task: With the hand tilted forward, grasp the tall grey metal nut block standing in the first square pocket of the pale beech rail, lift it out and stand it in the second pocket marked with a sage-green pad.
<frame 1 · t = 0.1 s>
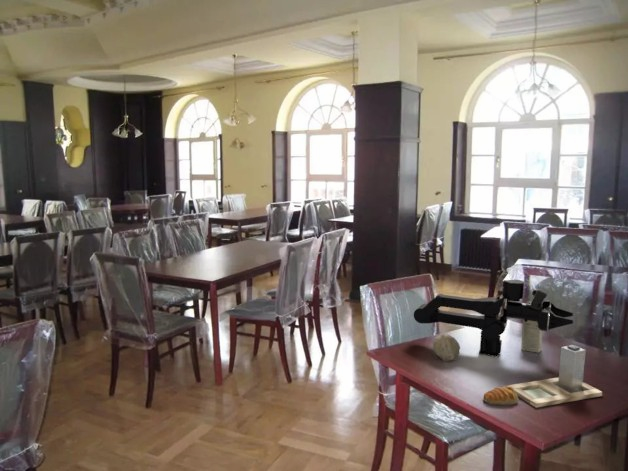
hand: (572, 318, 170), 17 cm above the table, tool horizontal, fingers open, 9 cm apart
pastry: (501, 401, 147), on the table
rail: (553, 392, 153), on the table
skincare box: (530, 350, 187), on the table
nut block: (569, 389, 154), resting in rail
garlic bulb: (444, 358, 178), on the table
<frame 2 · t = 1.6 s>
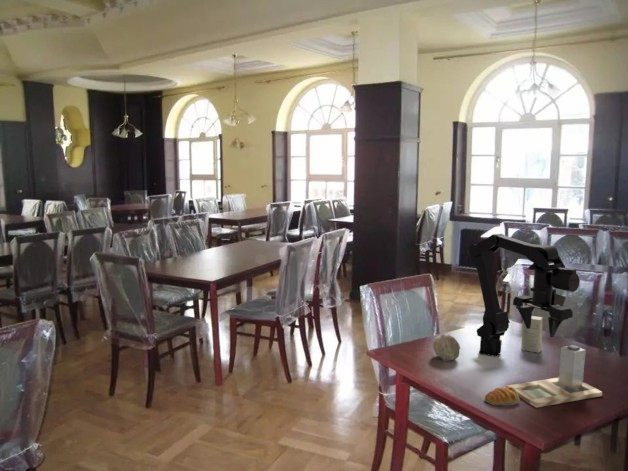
hand: (539, 332, 166), 13 cm above the table, tool pointing down, fingers open, 9 cm apart
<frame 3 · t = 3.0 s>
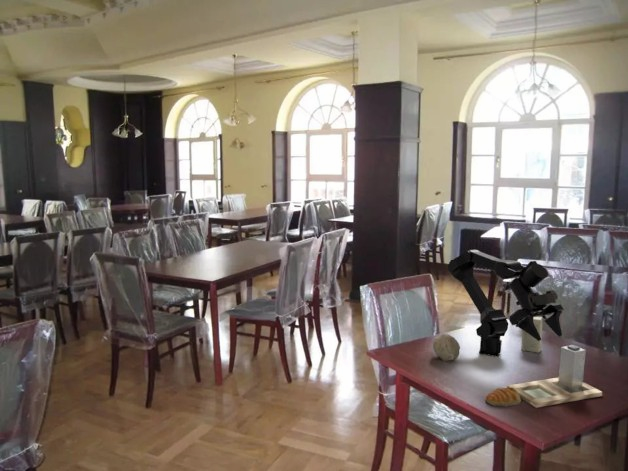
hand: (550, 338, 160), 13 cm above the table, tool tilted 45°, fingers open, 9 cm apart
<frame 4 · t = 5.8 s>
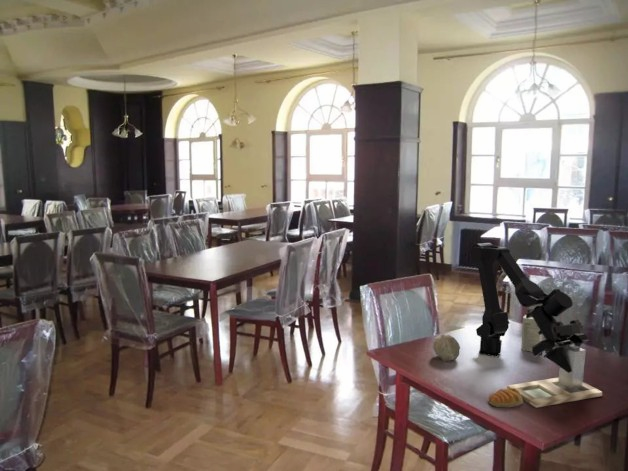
hand: (575, 370, 152), 7 cm above the table, tool tilted 45°, fingers closed on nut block, 5 cm apart
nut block: (569, 389, 154), resting in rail, touching gripper
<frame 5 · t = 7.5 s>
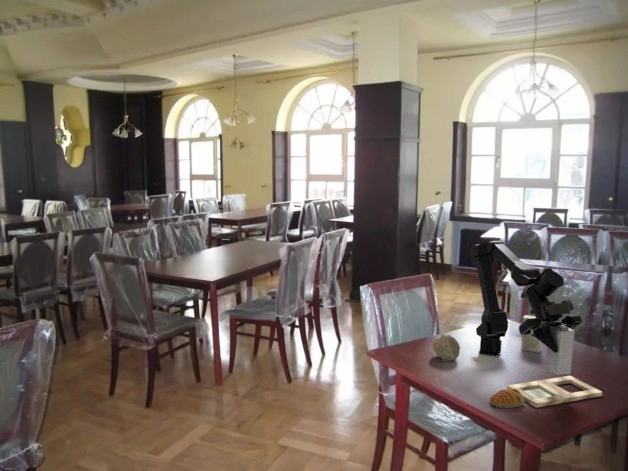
hand: (563, 351, 149), 13 cm above the table, tool tilted 45°, fingers closed on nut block, 5 cm apart
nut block: (558, 371, 151), point 7 cm above the table, touching gripper
when the fingers open (8 cm above the table, at t = 9.4 s): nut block stays where it is, resting on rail.
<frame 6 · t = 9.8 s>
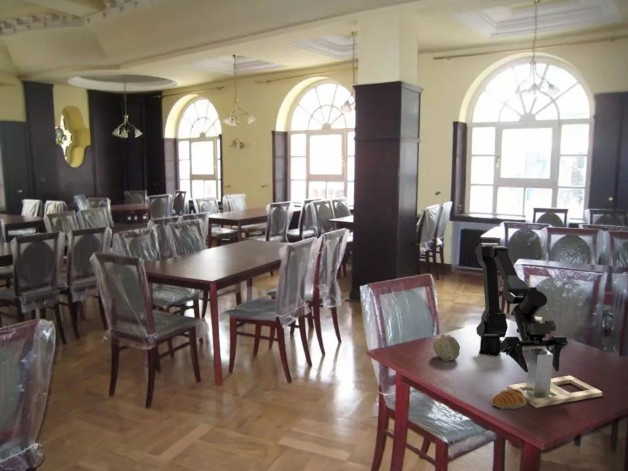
hand: (542, 371, 148), 8 cm above the table, tool tilted 45°, fingers open, 9 cm apart
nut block: (537, 394, 151), resting on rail
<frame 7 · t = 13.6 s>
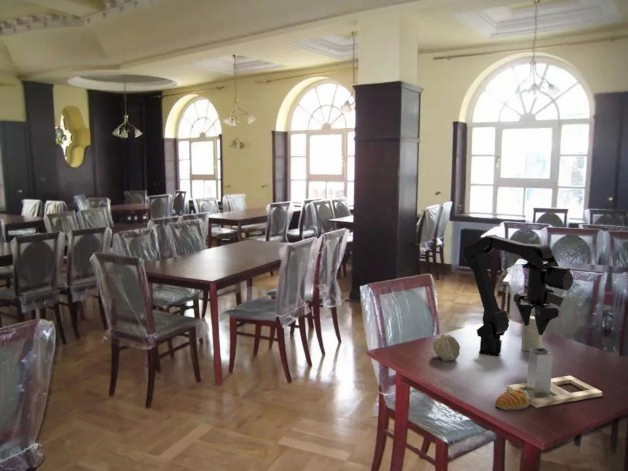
hand: (533, 330, 169), 13 cm above the table, tool pointing down, fingers open, 9 cm apart
at the end: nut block inside the target area (0.0 cm from its centre), resting on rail; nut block tilted 0°; the gripper is holding nothing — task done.
